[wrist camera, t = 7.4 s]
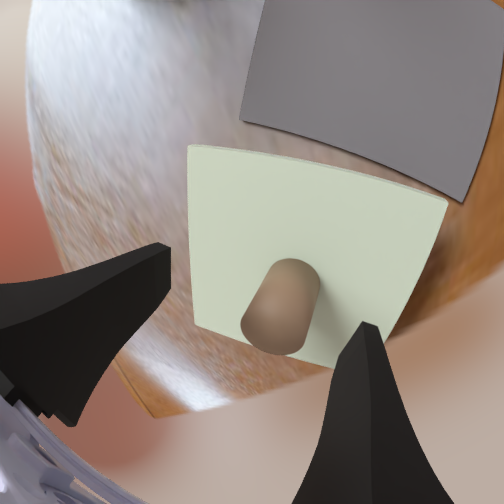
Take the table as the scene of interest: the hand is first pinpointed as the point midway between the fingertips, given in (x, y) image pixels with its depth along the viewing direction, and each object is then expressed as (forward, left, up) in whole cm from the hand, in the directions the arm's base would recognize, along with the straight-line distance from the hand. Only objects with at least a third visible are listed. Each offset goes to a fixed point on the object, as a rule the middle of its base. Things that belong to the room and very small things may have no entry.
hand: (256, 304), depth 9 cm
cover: (-1, +3, -6) cm, 6 cm away
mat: (-2, -12, -10) cm, 16 cm away
